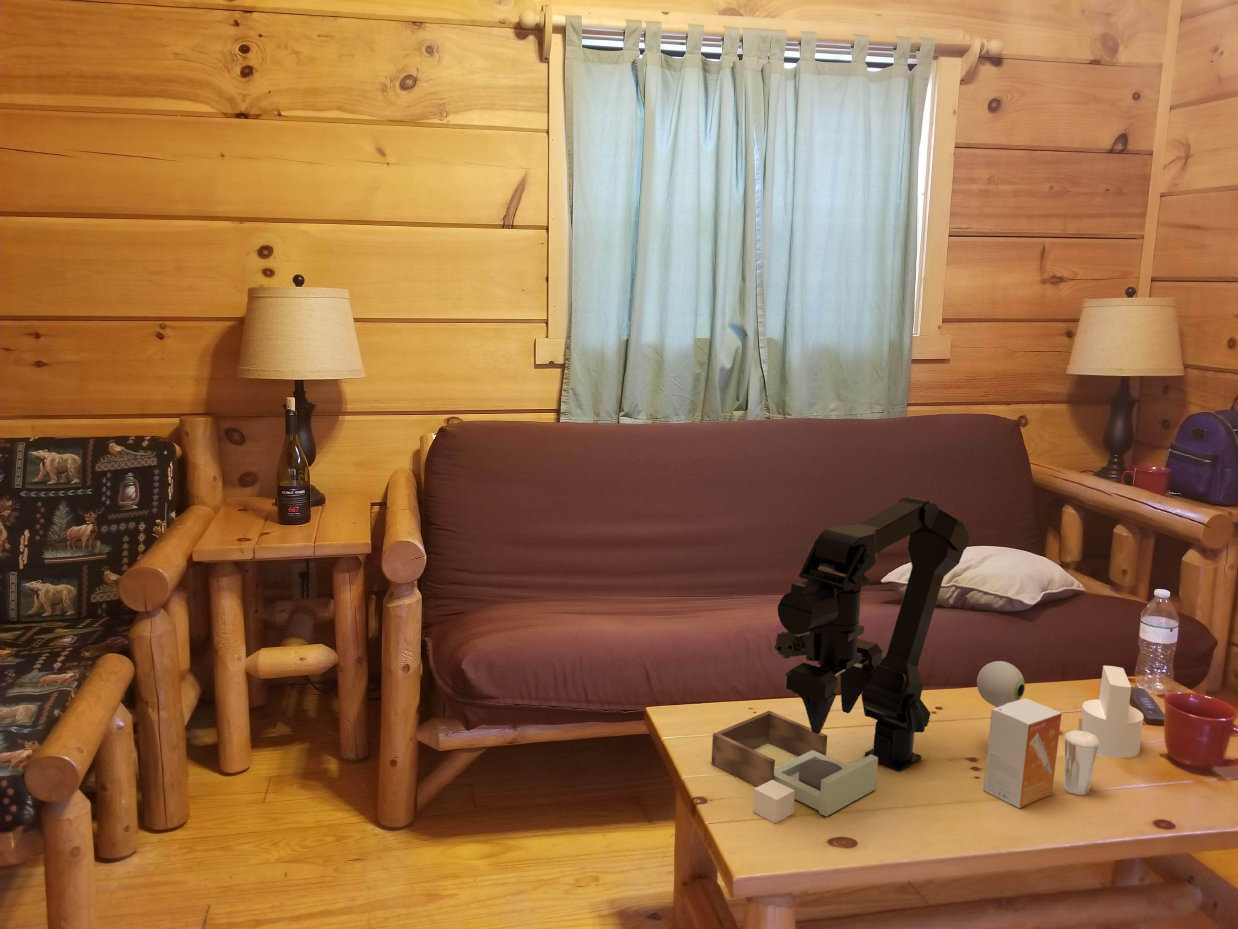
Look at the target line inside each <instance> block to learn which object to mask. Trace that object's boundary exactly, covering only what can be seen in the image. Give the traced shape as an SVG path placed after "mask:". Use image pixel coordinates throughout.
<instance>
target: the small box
mask: <svg viewBox="0 0 1238 929" xmlns="http://www.w3.org/2000/svg"><path fill="white" fill-rule="evenodd" d="M1061 722H1062V712H1060V711H1058V710H1055V709H1053V708H1051V707H1049V706H1046V705H1043V704H1042V703H1038V702H1036V701H1034V700H1031V699H1029V698H1027V697H1024V698H1021V699H1020V700H1017V701H1014V702H1010V703H1007V704H1005V705H1002V706H1000V707H997V708H996V707H994V708H991V715H990V723H989V724H990V725H989V733H988V743H987V752H986V753H987V754H986V762H985V771H984V779H983V780H984V782H983V788H982V789H983V790H982V791H984V792H986V793H987V794H990V795H991V796H994V797H996V798H998V799H999V800H1002V801H1003V802H1005V803H1008V804H1010V805H1012V806H1014V807H1016V808H1018V809H1022V808H1023V807H1025V806H1028V805H1029V804H1032V803H1034V802H1036V801H1039V800H1041V799H1044V798H1047V797H1048V796H1049V797H1050V796H1051V795H1052V794H1053V789H1054V788H1053V787H1054V779H1055V771H1056V762H1057V754H1058V746H1059V739H1060V738H1059V737H1060V730H1061Z"/></svg>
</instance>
